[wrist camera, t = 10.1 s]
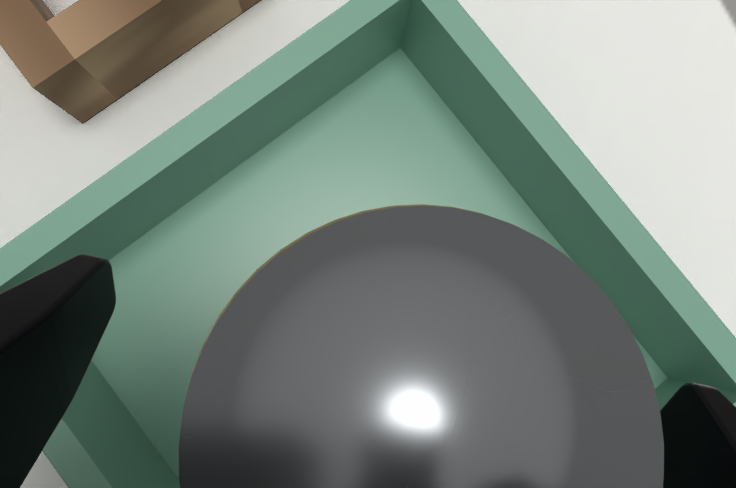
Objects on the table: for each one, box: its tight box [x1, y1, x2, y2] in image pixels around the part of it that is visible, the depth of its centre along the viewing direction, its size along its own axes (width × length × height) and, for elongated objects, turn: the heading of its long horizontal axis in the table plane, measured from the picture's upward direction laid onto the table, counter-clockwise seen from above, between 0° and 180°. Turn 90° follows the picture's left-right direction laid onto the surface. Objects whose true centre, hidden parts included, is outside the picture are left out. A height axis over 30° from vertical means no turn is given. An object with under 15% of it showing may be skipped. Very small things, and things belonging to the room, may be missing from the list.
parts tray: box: [0, 0, 736, 488], centre depth 16 cm, size 16×16×4 cm
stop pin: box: [179, 204, 664, 488], centre depth 11 cm, size 4×4×13 cm
